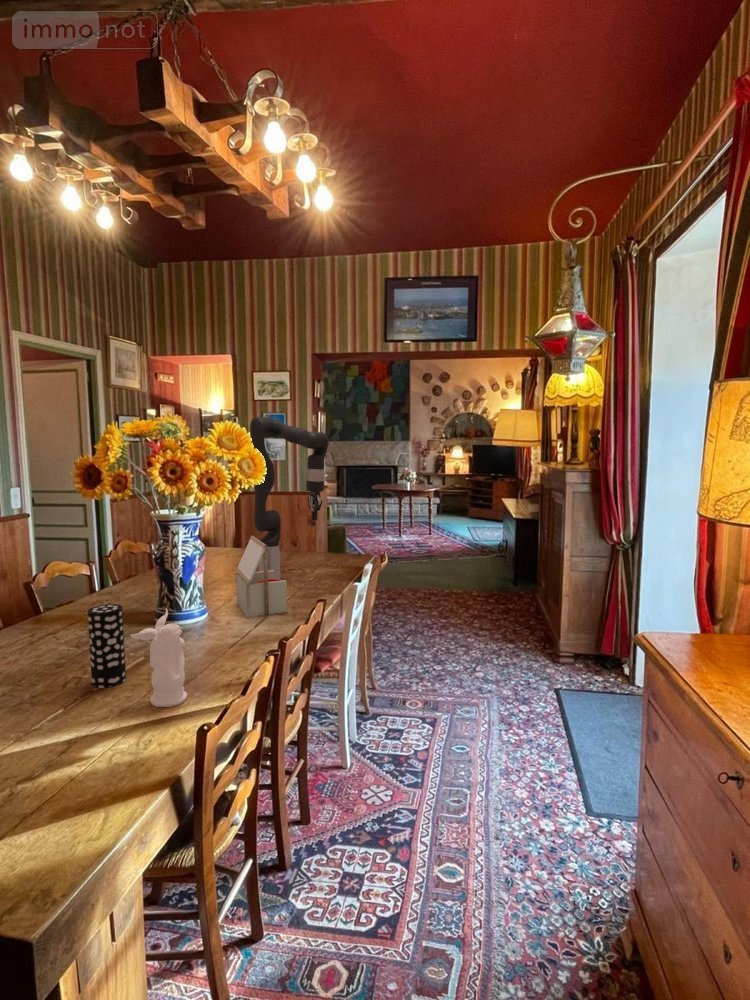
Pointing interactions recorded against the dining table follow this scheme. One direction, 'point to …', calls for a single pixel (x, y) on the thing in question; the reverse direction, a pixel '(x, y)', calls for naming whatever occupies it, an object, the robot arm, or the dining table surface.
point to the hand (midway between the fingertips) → (314, 520)
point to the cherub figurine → (166, 662)
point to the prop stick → (266, 584)
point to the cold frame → (261, 595)
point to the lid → (251, 559)
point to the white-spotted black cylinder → (106, 645)
